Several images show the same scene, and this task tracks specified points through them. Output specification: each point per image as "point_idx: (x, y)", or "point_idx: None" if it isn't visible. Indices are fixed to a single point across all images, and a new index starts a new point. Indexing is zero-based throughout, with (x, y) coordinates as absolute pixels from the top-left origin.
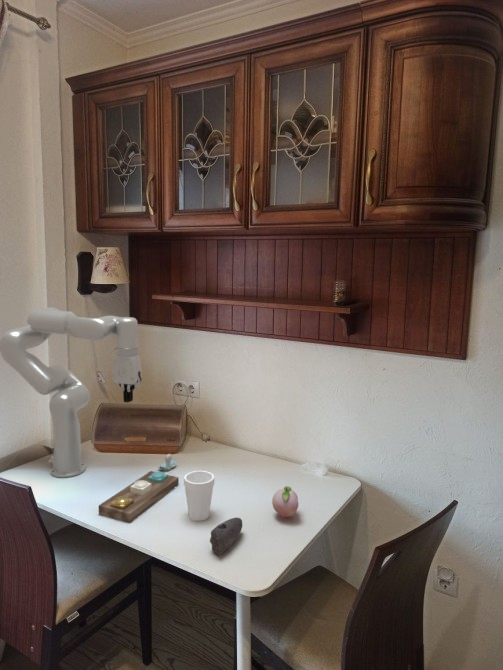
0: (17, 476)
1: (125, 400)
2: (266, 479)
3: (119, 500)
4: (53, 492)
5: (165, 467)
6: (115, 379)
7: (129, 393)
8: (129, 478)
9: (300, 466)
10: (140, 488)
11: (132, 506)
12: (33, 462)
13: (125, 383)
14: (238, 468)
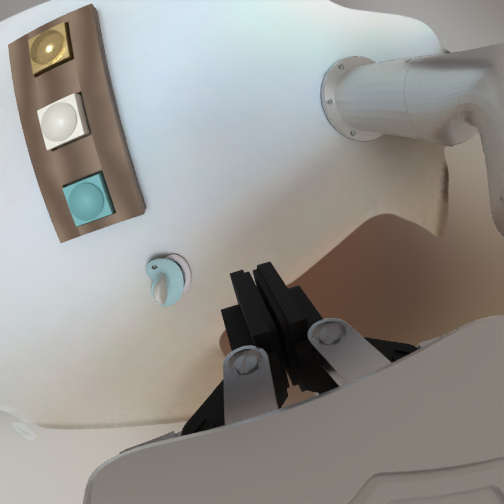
0: (410, 28)
1: (255, 275)
2: (5, 363)
3: (46, 39)
4: (285, 2)
5: (162, 270)
6: (496, 350)
7: (238, 346)
8: (192, 167)
9: (26, 418)
10: (45, 109)
11: (24, 63)
12: None
13: (265, 418)
14: (65, 369)
